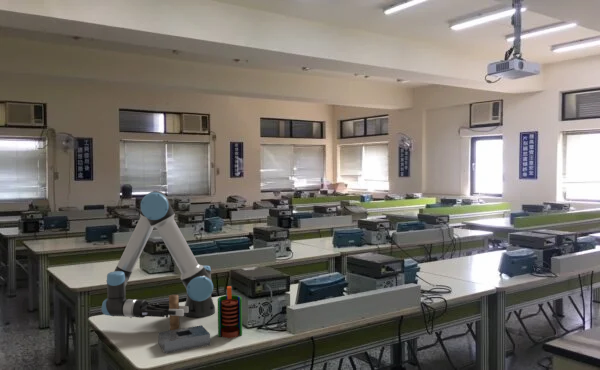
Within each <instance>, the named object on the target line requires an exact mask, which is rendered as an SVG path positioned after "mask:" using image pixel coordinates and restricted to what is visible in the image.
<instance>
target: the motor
mask: <svg viewBox="0 0 600 370" xmlns="http://www.w3.org/2000/svg"><path fill="white" fill-rule="evenodd" d="M232 290H233V289H232V286H230V285H229V286H226V294H227V295H222V296H219V297H218V298H217V335H218V336H217V337H218V338H220V337H222V338H224V339H233V338H237V337H238V336H239V337H240V336H243V297H242V296H240V295H237V294H236V295H235V294H233V292H232Z"/></svg>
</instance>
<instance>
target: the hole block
mask: <svg viewBox="0 0 600 370" xmlns="http://www.w3.org/2000/svg"><path fill="white" fill-rule="evenodd" d="M157 335H158V337H157V338H158V339H157V340H158V345H159V347H160V349H161V350H162V351H163V353H164V354H168V353H170V354H171V353H175V352H180V351H185V350H192V349H196V348H202V346H203V347H208V346H211V333H210V332H209V331H208V330H207V329H206V328H205V327H204V326H203V325H201V324H200V325H197V326H196V325H195V326H190V327H183V328H179V329H176V330H170V329H169V330H166V331H165V330H164V331H160V332H159V331H158V333H157ZM207 345H208V346H207Z"/></svg>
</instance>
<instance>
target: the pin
mask: <svg viewBox="0 0 600 370" xmlns="http://www.w3.org/2000/svg"><path fill="white" fill-rule="evenodd" d="M179 298H180V297H179V294H170V295H168V303H169V309H179V306H180V305H179V304H180V300H179ZM176 329H180V316H171V315H169V331H170V330H176Z"/></svg>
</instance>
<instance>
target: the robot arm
mask: <svg viewBox="0 0 600 370" xmlns="http://www.w3.org/2000/svg"><path fill="white" fill-rule="evenodd" d="M175 215H176V213H175V212H174V209H173V208H172V206H171V203H170V201H169V197H168V196H167V195H166V194H165V193H164V192H162V191H158V190H153V191H151V192H148V194H146V195H144V197H143V198H142V199H141V201H140V213H139V216H140V217H139V219H138V221H137V223H136V226H135V228H134V230H133V232H132V233H131V236H130V237H129V240H128V242H127V244H126V246H125V249H124V250H123V252H122V255H121V257H120V258H119V261H118V263H117V264H116V265H117V266H116V267H115V269H114V270H113V271H110V272H108V273H107V275H106V288H107V289H106V290H107V291H106V293H107V298H105V299H104V300H103V301H102V305H101V313H102V314H103V315H105V316H109V317H110V316H111V317H122V318H123V317H124V318H130V319H132V318H142V319H143V318H145V317H152V318H153V317H154V318H155V317H156V318H167V319H168V318H169V316H170V315H171V316H179V317H184V316H185V317H190V318H204V317H208V316H212V315H213V314H215V313H216V306H215V303H214V299H213V298H212V293H213V291H214V283H213V281H212V269H211V266H210V265H202V264H200V263H198V261H197V258H196V257H195V255H194V254H193V253H194V252H193V251H192V250H191V247H190V246H189V244H188V242H187V240H186V239H185V237H184V235H183V233H182V231H181V229H180V228H179V226H178V224H177V222H176V221H175ZM154 228H155V229H156V230H157V232H158V234H159V235H160V238H161V240H162V241H163V242H164V244H165V246H166V249H168V252H169V254H170V255H171V257H172V258H173V259H172V260H173V261H174V262H175V265H176V266H177V268H178V269H179V272H180V273H181V275H180V280H181V282H182V284H183V286H184V288H185V289H186V290H185V291H186V300H185V303H184V305H179V309H169V302H168V303H166V302H160V301H158V302H156V303H149V302H148V301H147V300H146V299H135V298H134V299H133V298H132V299H131V298H128V299H127V298H126V286H127V284H128V282H129V280H130V278H131V275H132V274H133V271H134V269H135V267H136V265H137V263H138V261H139V259H140V257H141V254H142V252H143V250H144V248H145V247H146V245H147V242H148V240H149V238H150V236H151V234H152V232H153V229H154Z"/></svg>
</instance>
